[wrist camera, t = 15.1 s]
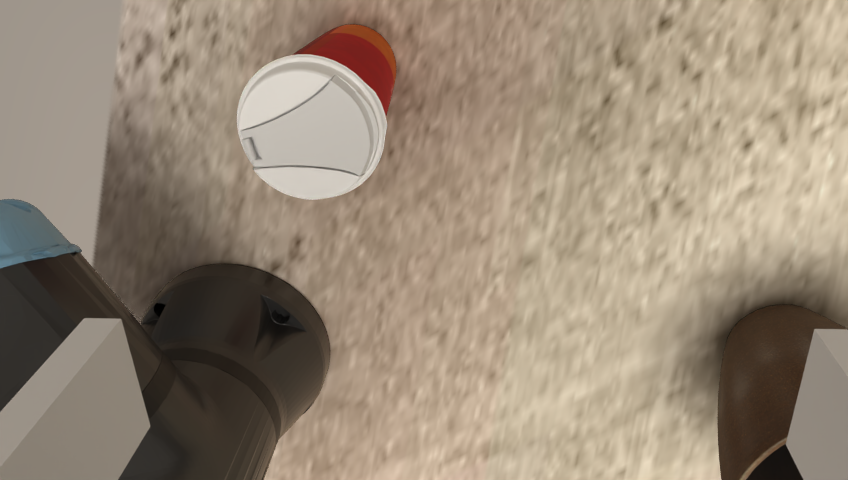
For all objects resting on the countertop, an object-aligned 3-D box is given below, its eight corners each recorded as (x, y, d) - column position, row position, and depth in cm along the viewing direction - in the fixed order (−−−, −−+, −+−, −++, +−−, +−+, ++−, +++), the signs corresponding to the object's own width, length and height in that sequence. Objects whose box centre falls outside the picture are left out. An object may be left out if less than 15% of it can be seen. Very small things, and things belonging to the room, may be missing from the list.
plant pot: (821, 439, 59) (921, 622, 45) (644, 397, 59) (688, 567, 45) (921, 288, 52) (1077, 449, 38) (720, 239, 52) (801, 382, 38)
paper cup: (318, 132, 51) (259, 220, 38) (282, 21, 47) (205, 80, 35) (426, 109, 49) (401, 193, 37) (397, -7, 46) (359, 44, 34)
